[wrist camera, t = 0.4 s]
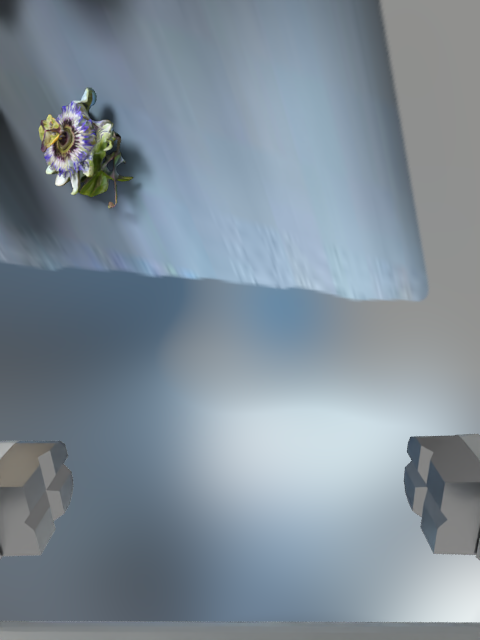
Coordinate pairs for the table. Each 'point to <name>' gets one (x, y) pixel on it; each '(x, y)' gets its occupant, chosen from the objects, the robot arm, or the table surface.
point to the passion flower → (81, 148)
